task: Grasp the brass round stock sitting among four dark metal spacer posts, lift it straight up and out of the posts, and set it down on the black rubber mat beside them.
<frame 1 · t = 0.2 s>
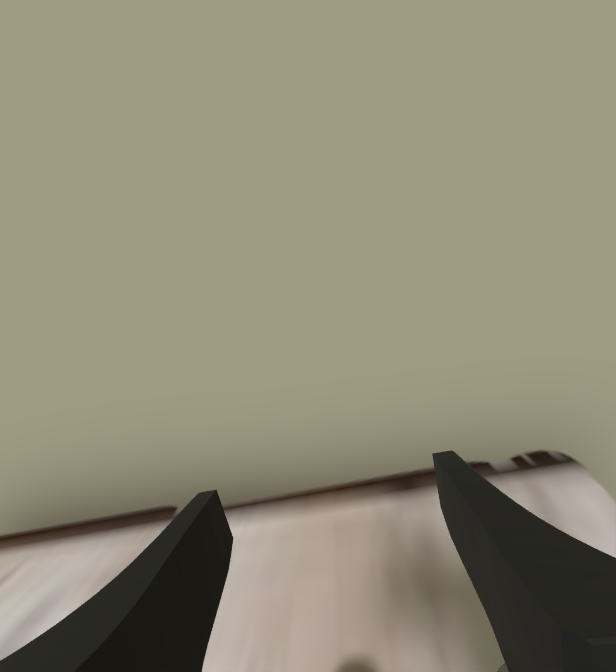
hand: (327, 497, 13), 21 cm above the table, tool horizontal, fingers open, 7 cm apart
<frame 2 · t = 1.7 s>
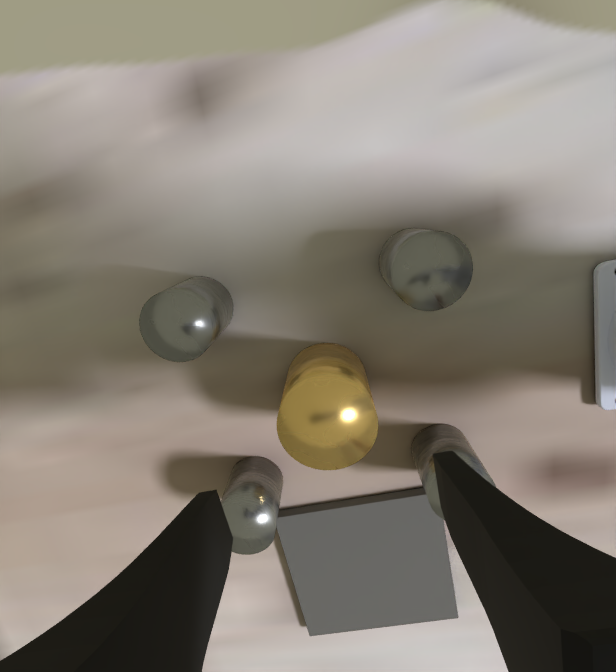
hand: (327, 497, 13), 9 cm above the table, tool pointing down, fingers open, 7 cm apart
brass round stock: (326, 380, 22), on the table
spacer posts: (326, 380, 22), on the table
mat: (368, 561, 25), on the table
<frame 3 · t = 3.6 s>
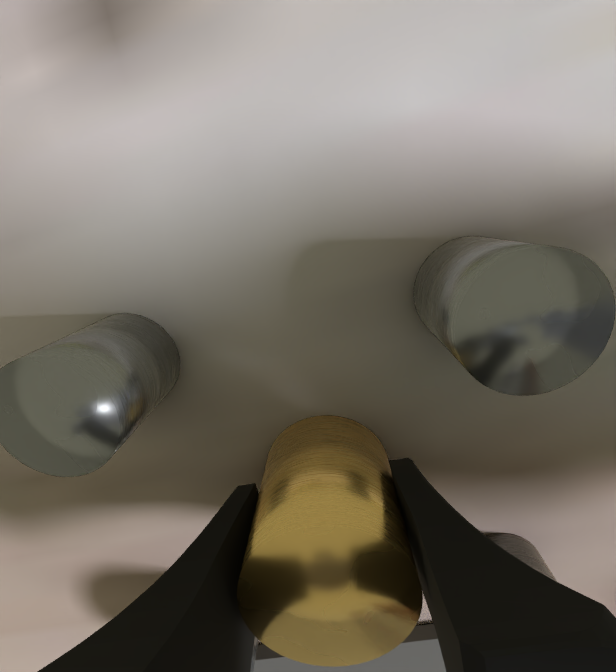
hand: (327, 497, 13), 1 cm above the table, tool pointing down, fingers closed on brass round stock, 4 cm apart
brass round stock: (327, 470, 14), on the table, touching gripper
spacer posts: (327, 470, 14), on the table
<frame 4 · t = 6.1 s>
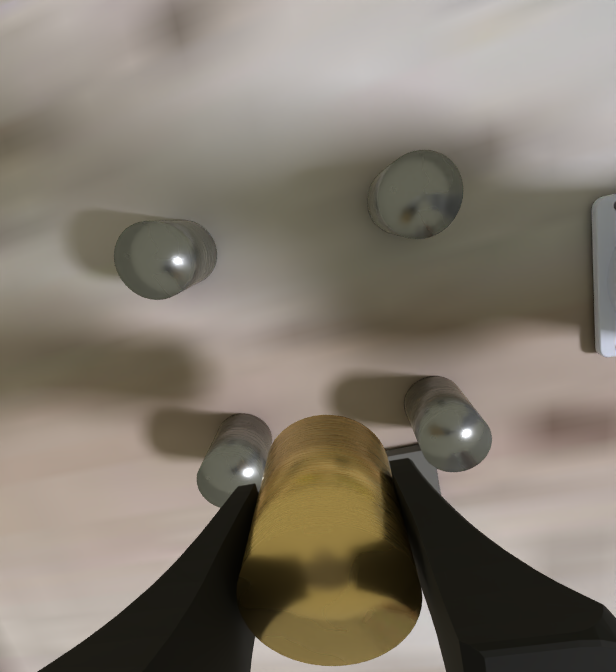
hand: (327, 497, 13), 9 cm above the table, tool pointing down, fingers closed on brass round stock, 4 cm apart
brass round stock: (327, 469, 14), point 8 cm above the table, touching gripper
spacer posts: (315, 331, 21), on the table
mat: (361, 525, 24), on the table
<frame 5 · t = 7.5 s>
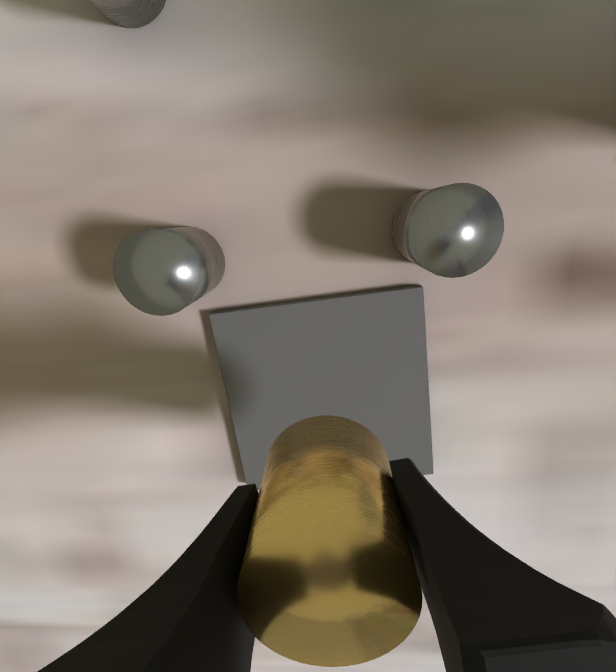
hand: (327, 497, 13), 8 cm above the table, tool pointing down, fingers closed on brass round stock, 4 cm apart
brass round stock: (327, 470, 14), point 6 cm above the table, touching gripper
spacer posts: (288, 112, 16), on the table
mat: (327, 393, 20), on the table
when the fingers open (4 cm above the table, at t = 8.8 s): brass round stock drops 2 cm, resting on mat.
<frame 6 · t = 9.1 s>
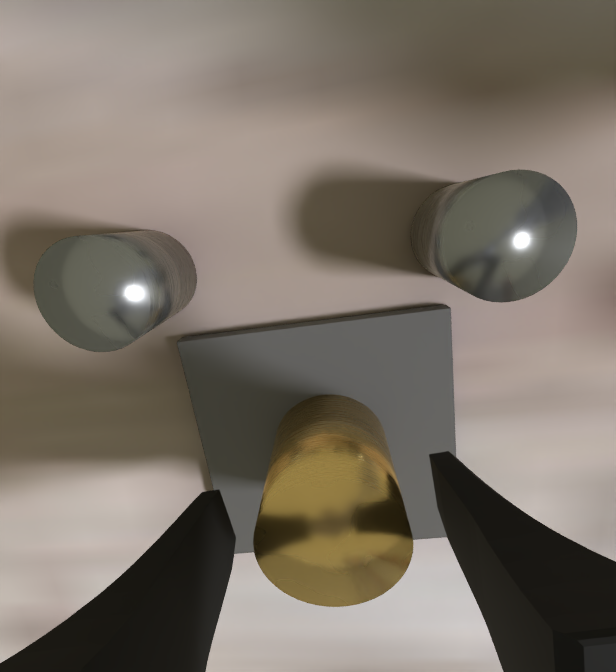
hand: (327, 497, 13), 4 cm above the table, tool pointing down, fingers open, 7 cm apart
brass round stock: (330, 444, 16), point 1 cm above the table, touching mat
spacer posts: (275, 80, 12), on the table
mat: (327, 437, 16), on the table
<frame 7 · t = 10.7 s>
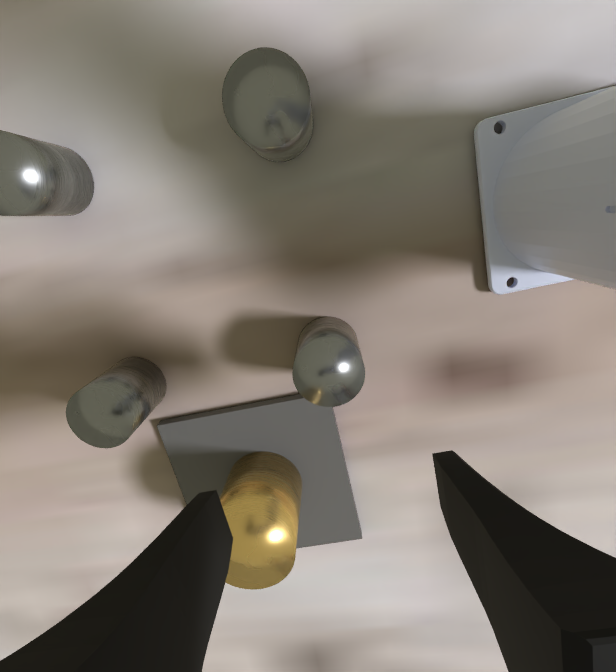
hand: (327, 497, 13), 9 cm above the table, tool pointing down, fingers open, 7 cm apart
brass round stock: (265, 484, 23), point 1 cm above the table, touching mat
spacer posts: (201, 267, 20), on the table
mat: (264, 477, 24), on the table
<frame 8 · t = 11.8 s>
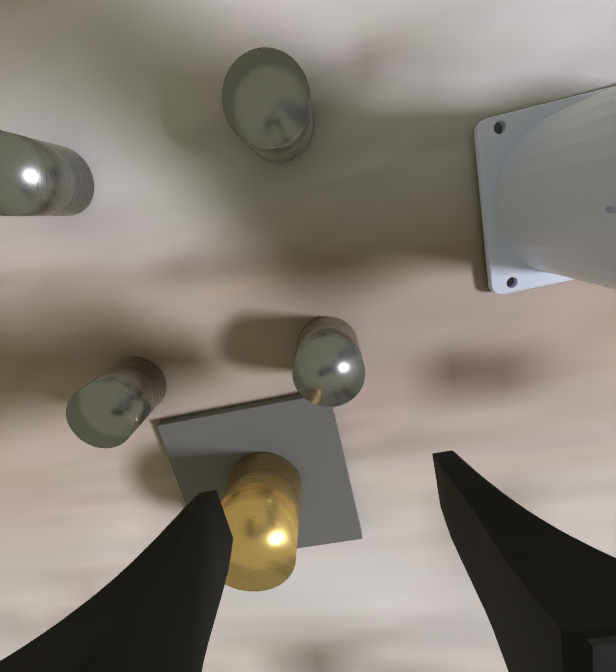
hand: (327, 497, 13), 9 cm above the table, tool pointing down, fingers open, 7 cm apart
brass round stock: (265, 484, 23), point 1 cm above the table, touching mat
spacer posts: (201, 267, 20), on the table
mat: (264, 477, 24), on the table
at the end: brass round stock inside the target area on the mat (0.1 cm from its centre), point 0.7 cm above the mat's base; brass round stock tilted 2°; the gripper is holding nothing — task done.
